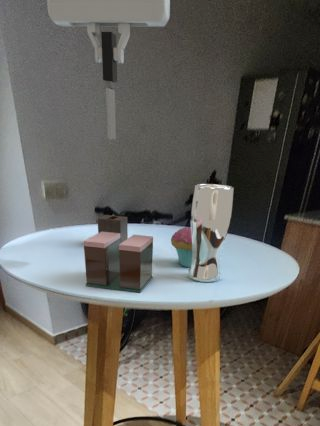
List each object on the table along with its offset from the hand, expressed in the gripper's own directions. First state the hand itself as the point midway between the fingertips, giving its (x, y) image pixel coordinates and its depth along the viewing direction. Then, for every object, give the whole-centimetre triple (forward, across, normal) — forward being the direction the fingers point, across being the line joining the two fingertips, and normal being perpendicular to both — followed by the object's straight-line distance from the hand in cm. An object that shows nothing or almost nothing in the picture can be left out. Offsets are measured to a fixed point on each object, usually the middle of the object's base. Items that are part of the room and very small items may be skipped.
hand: (109, 62), depth 64 cm
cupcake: (+31, +18, -4) cm, 36 cm away
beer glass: (+31, +22, -12) cm, 40 cm away
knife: (+11, 0, 0) cm, 11 cm away
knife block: (+31, -2, +6) cm, 32 cm away
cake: (+31, +8, -20) cm, 38 cm away
